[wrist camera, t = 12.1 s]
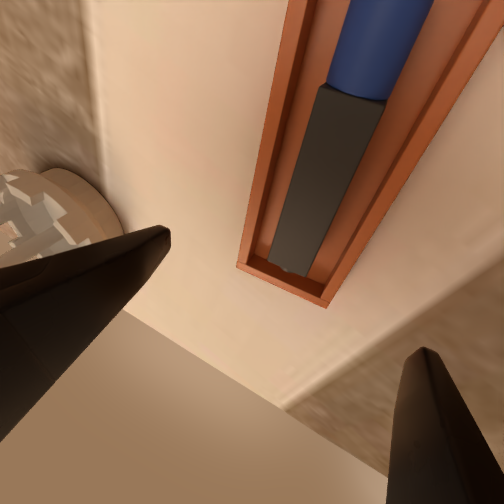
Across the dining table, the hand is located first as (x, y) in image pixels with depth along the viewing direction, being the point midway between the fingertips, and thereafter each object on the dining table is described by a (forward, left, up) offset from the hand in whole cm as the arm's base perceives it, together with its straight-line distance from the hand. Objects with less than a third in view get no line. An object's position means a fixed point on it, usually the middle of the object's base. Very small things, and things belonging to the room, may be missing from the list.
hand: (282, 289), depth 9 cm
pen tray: (+1, -1, -10) cm, 10 cm away
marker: (+1, -1, -10) cm, 10 cm away
